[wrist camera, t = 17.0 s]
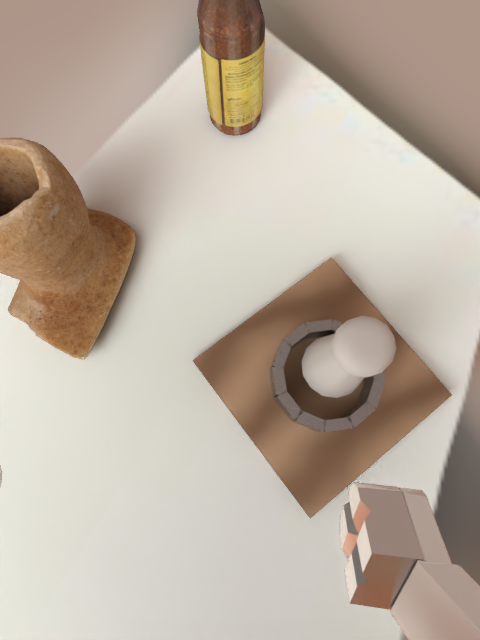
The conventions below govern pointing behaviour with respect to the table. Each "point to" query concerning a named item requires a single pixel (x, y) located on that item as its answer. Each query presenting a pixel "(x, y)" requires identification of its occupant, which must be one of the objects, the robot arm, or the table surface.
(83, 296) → the stone cup
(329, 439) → the keeper plate
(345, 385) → the salt shaker
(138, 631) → the table surface
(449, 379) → the table surface
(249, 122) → the sauce bottle
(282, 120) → the table surface
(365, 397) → the keeper collar
